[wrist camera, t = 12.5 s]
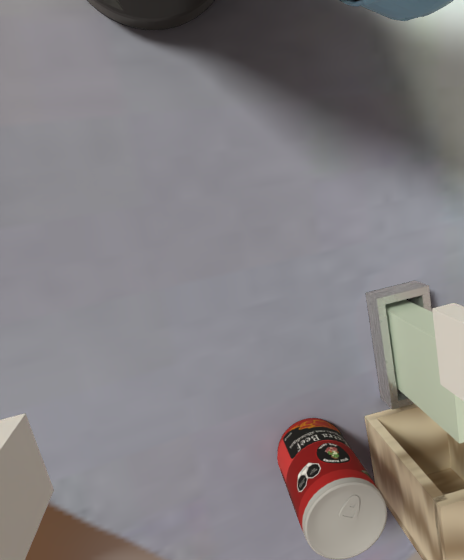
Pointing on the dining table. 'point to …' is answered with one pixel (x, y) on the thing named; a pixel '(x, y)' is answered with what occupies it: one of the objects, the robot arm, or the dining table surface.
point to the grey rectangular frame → (382, 339)
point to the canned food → (330, 490)
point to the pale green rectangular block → (422, 366)
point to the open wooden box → (420, 479)
